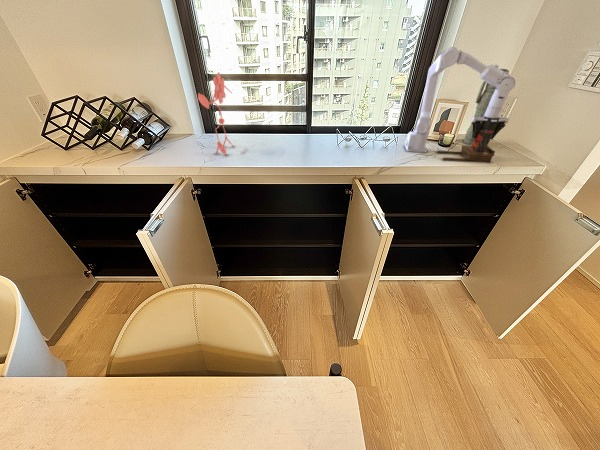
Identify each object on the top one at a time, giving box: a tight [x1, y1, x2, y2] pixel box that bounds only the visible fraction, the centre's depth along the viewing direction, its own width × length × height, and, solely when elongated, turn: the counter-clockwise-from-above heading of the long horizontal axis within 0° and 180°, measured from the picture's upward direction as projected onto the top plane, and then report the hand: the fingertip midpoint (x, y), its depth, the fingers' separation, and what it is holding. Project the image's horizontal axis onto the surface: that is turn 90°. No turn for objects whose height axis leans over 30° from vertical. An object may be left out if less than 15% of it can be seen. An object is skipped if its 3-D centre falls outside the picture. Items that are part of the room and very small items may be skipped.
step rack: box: [436, 145, 496, 163], centre depth 124 cm, size 21×10×5 cm, turn 82°
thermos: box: [463, 68, 510, 146], centre depth 132 cm, size 9×12×35 cm
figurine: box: [197, 72, 248, 159], centre depth 122 cm, size 15×26×35 cm, turn 172°
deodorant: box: [471, 116, 501, 152], centre depth 118 cm, size 6×6×15 cm
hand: (482, 138), depth 120 cm, fingers open, 7 cm apart
